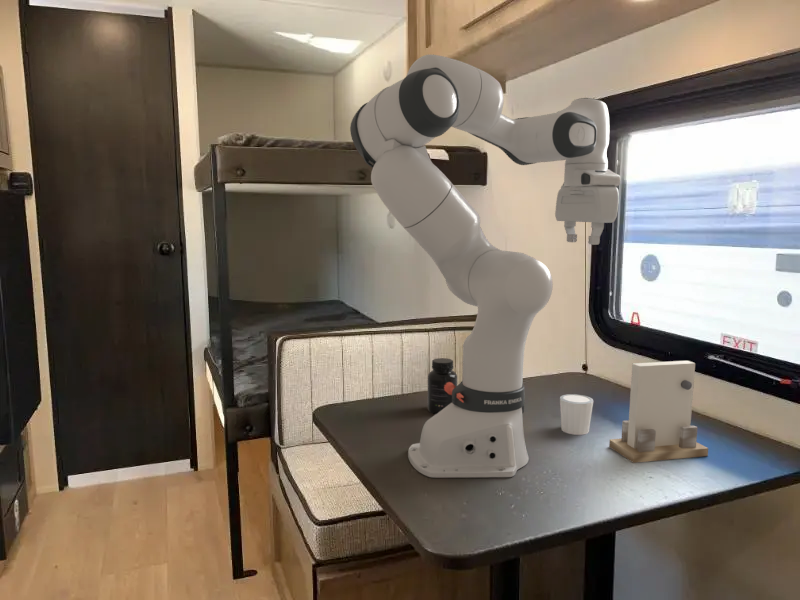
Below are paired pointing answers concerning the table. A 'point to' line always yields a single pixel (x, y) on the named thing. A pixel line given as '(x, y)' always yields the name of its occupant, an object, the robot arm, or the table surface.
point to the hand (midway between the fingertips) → (582, 243)
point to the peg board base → (654, 453)
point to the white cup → (575, 413)
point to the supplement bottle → (440, 384)
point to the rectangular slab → (660, 400)
